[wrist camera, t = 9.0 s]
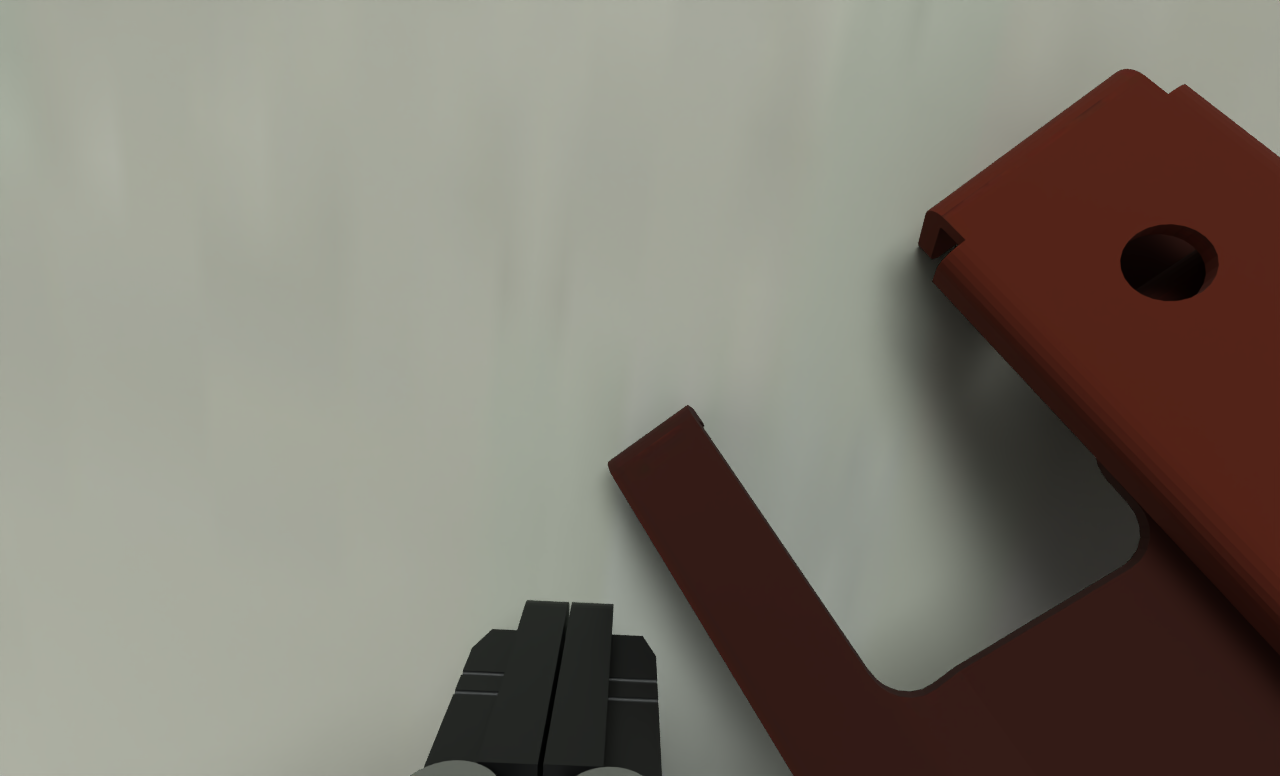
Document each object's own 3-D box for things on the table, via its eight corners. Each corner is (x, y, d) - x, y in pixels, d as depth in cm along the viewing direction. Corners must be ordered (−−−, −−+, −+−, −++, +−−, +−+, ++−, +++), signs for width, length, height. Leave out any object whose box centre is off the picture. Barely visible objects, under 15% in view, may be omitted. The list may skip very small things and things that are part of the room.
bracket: (1047, 992, 15) (1364, 1750, 6) (706, 485, 20) (582, 456, 11) (1478, 768, 14) (2818, 1299, 4) (999, 278, 19) (1152, 35, 9)
